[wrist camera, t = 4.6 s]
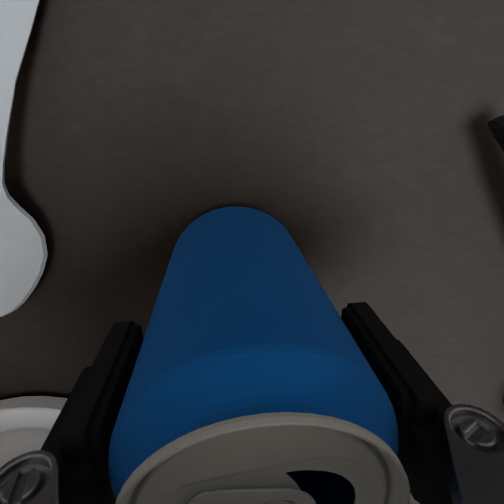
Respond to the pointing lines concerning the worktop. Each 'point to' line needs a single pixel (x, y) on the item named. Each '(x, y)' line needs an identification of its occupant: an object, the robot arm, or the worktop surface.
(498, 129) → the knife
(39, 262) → the spoon
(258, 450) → the beverage can
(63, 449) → the robot arm
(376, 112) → the worktop surface
